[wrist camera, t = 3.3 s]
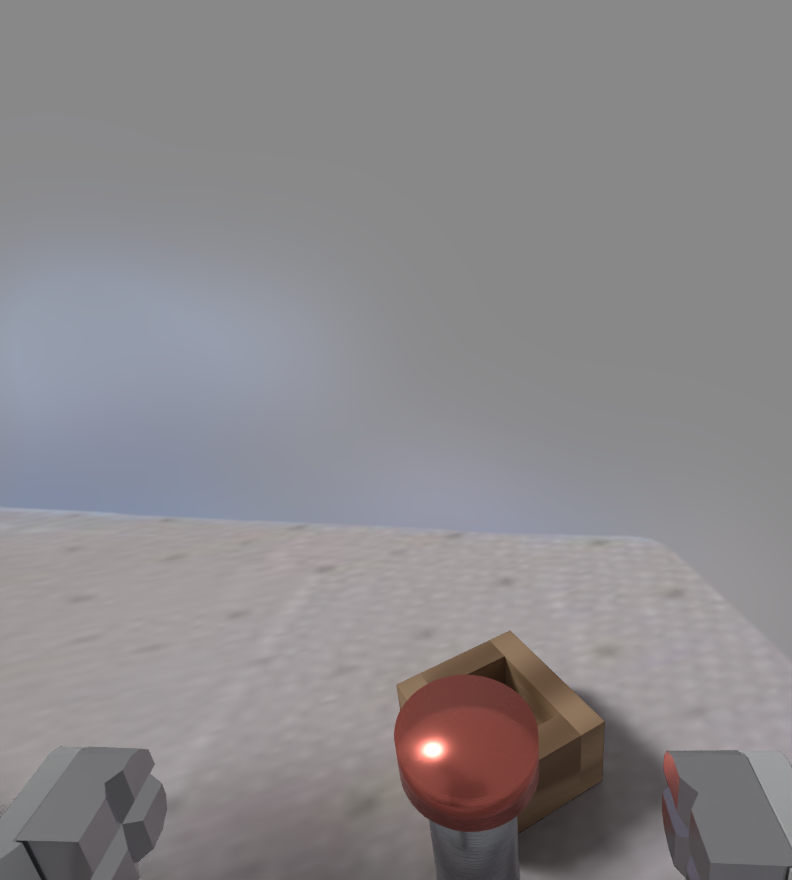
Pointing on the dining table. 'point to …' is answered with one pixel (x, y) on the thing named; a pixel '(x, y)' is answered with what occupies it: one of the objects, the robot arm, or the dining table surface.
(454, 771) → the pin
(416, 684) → the socket block
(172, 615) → the dining table surface
